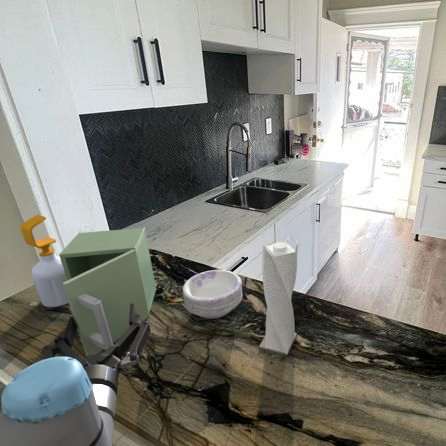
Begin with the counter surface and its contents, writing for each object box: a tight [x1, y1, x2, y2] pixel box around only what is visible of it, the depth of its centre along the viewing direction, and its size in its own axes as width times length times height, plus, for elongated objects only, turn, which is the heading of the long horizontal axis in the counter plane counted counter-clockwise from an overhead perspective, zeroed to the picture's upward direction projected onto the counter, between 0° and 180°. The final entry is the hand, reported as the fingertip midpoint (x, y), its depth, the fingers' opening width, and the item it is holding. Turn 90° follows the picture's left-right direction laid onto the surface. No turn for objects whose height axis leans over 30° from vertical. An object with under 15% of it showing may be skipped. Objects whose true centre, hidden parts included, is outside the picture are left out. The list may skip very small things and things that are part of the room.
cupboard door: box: [62, 250, 150, 357], centre depth 71 cm, size 7×16×20 cm, turn 154°
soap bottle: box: [20, 214, 69, 308], centre depth 84 cm, size 9×9×25 cm
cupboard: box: [58, 227, 157, 313], centre depth 83 cm, size 12×16×20 cm
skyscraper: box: [258, 236, 300, 356], centre depth 69 cm, size 8×8×28 cm
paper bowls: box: [182, 269, 243, 320], centre depth 85 cm, size 15×15×8 cm
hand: (104, 314), depth 68 cm, fingers open, 10 cm apart
